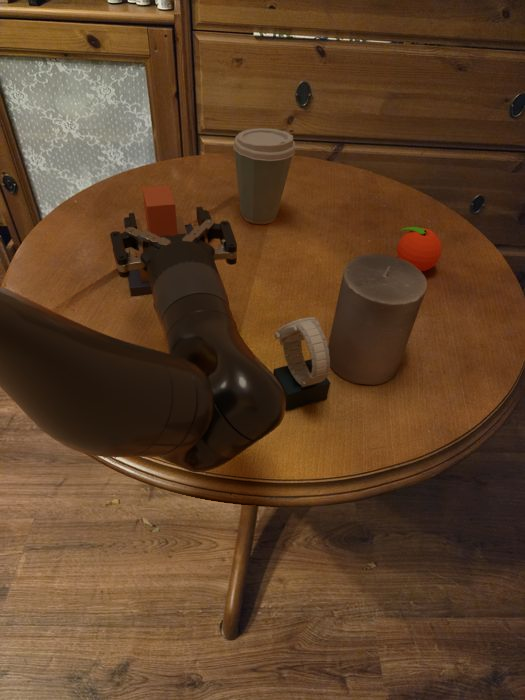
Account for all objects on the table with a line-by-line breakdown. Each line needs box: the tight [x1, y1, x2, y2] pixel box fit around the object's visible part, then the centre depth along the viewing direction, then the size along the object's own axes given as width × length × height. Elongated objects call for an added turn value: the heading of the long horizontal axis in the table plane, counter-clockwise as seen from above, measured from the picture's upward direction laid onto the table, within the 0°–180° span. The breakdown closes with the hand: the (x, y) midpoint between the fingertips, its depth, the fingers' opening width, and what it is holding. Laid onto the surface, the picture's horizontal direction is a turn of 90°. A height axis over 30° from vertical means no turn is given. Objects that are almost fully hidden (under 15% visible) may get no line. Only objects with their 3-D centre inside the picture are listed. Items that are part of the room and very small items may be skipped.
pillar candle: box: [327, 253, 428, 386], centre depth 61 cm, size 10×10×15 cm
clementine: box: [396, 226, 443, 272], centre depth 80 cm, size 8×7×7 cm
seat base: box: [127, 214, 194, 297], centre depth 79 cm, size 16×12×4 cm
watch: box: [272, 316, 331, 412], centre depth 58 cm, size 6×8×11 cm
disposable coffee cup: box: [232, 127, 296, 225], centre depth 87 cm, size 11×11×15 cm
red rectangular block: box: [141, 184, 178, 237], centre depth 76 cm, size 6×4×10 cm, turn 16°
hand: (166, 216), depth 63 cm, fingers open, 8 cm apart
